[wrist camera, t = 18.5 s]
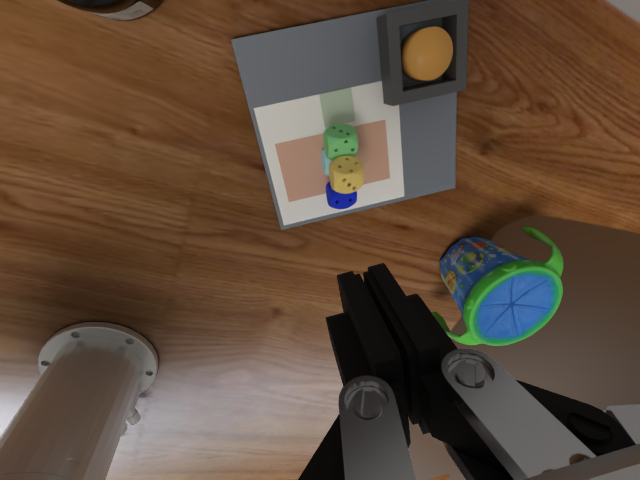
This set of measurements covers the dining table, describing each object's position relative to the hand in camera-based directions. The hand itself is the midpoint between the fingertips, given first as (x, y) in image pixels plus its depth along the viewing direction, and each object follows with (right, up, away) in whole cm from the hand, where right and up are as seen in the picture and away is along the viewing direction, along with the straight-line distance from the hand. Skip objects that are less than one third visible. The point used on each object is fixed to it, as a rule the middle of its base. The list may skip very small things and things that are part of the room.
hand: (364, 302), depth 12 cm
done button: (+7, +19, +19) cm, 28 cm away
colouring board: (+2, +14, +22) cm, 26 cm away
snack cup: (+17, 0, +33) cm, 37 cm away
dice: (0, +10, +22) cm, 24 cm away
